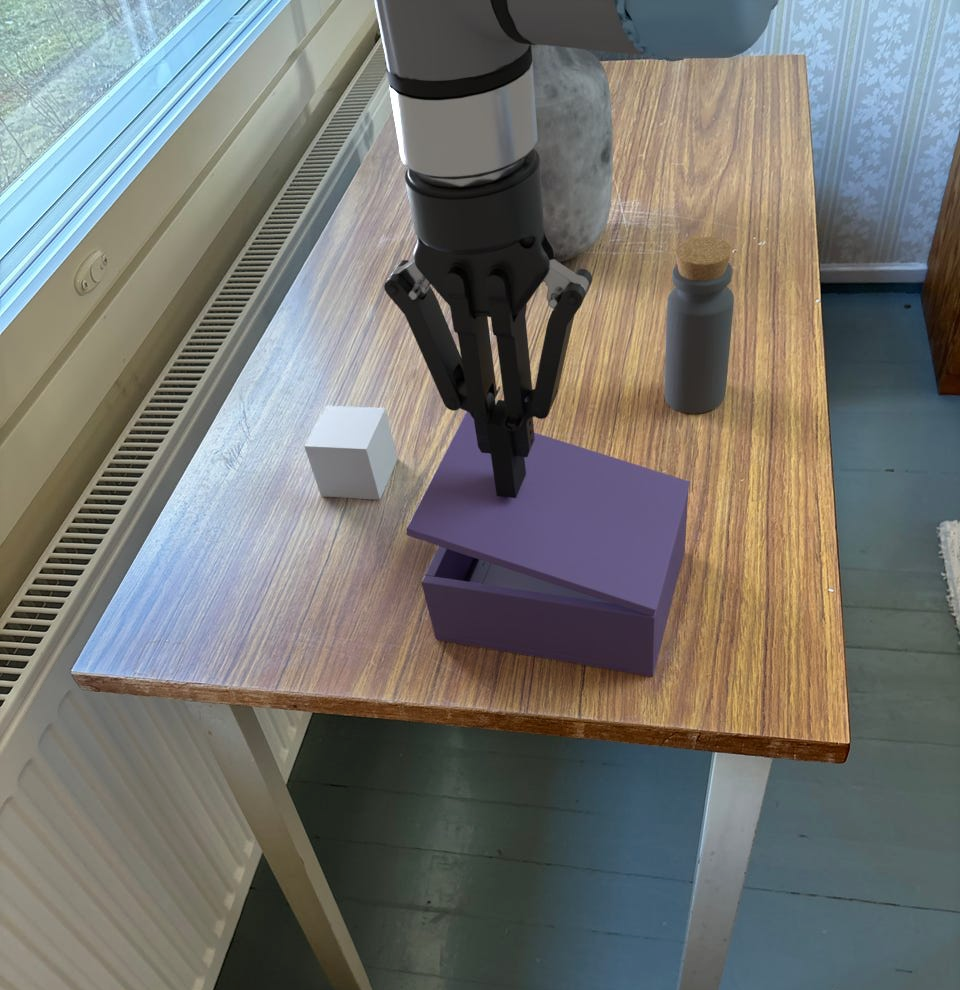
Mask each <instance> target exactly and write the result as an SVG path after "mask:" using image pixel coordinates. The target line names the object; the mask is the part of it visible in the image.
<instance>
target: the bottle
mask: <svg viewBox="0 0 960 990" xmlns="http://www.w3.org/2000/svg"><path fill="white" fill-rule="evenodd" d="M732 250H733V249H732V246H731V245H730V243H729V242H727V241H726V240H724V239H722V238H718V237H715V236H697V237H692V238H689V239H686V240H684V241H682V242H681V243H680V244H679V245H678V246H676V249H675V259H676V264H675V265H674V267H673V269H672V272H671V273H672V275H671V281H672V285H673V286H674V288H673V289H672V290H671V291H670V292H669V293H668V296H667V304H666V326H665V327H666V328H665V356H664V357H665V359H664V361H665V362H664V400H665V402H666V404H667V405H668V406H669V407H670V408H671V409H673V410H675V411H677V412H680V413H684V414H689V415H690V414H691V415H692V414H693V415H694V414H695V415H696V414H704V413H708V412H711V411H713V410H715V409H717V408H718V407H720V406H721V405H722V404H723V402H724V400H725V397H726V392H727V391H726V390H727V384H728V383H727V382H728V373H729V363H730V349H731V339H732V330H733V329H732V327H733V319H734V318H733V317H734V303H735V297H734V293H733V291H732V289H730V287H729V284H730V283H731V281H732V279H733V267H732V265H731V263H730V258H731V255H732V253H733V252H732Z"/></svg>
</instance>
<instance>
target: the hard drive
mask: <svg viewBox="0 0 960 990" xmlns="http://www.w3.org/2000/svg"><path fill="white" fill-rule="evenodd" d="M470 582H473V583H480V584H486V585H493V586H500V587H506V588H513V589H519V590H526V591H533V592H539V593H546V594H553V595H559V596H566V597H573V598H579V599H586V600H593V601H599V602H606V603H610V602H607V601H604V600H601V599H598V598H595V597H592V596H589V595H586V594H583V593H580V592H577V591H574V590H571V589H567V588H564V587H561V586H558V585H555V584H552V583H549V582H546V581H543V580H540V579H537V578H534V577H531V576H528V575H525V574H522V573H519V572H516V571H513V570H510V569H507V568H504V567H501V566H498V565H495V564H492V563H489V562H486V561H483V560H480V559H479V561H478V564H477V566H476V568H475V570H474V573H473V575H472V577H471V580H470Z"/></svg>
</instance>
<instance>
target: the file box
mask: <svg viewBox="0 0 960 990" xmlns="http://www.w3.org/2000/svg"><path fill="white" fill-rule="evenodd" d="M688 505H689V491H688V492H687V496H686V500H685V504H684V507H683V511H682V515H681V519H680V522H679V526H678V530H677V534H676V538H675V541H674V545H673V549H672V553H671V556H670V560H669V564H668V568H667V571H666V575H665V579H664V583H663V586H662V590H661V594H660V598H659V601H658V605H657V609H656V612H655V614H654V616H649V615H646V614H643V613H640V612H637V611H634V610H631V609H628V608H625V607H622V606H619V605H616V604H613V603H606V602H599V601H593V600H586V599H579V598H573V597H566V596H559V595H553V594H546V593H539V592H533V591H526V590H519V589H513V588H506V587H500V586H493V585H486V584H480V583H473V582H470V580H471V577H472V575H473V573H474V570H475V568H476V566H477V564H478V561H479V559H477V558H474V557H471V556H467V555H464V554H461V553H458V552H455V551H452V550H449V549H446V548H443V547H440V546H437V548H436V551H435V553H434V555H433V556H432V558H431V561H430V563H429V565H428V567H427V569H426V571H425V574H424V576H423V578H422V580H421V586H422V590H423V595H424V598H425V602H426V606H427V610H428V614H429V618H430V623H431V626H432V630H433V633H434V638H435V640H437V641H441V642H447V643H453V644H459V645H465V646H471V647H477V648H482V649H488V650H493V651H494V650H495V651H499V652H507V653H511V654H517V655H522V656H523V655H524V656H530V657H535V658H541V659H546V660H552V661H558V662H564V663H569V664H575V665H576V664H577V665H582V666H589V667H593V668H599V669H606V670H611V671H617V672H623V673H627V674H634V675H640V676H647V677H651V678H653V677H654V674H655V671H656V667H657V663H658V659H659V655H660V652H661V651H660V650H661V647H662V644H663V639H664V634H665V630H666V627H667V624H668V619H669V615H670V611H671V607H672V604H673V599H674V596H675V592H676V588H677V584H678V580H679V576H680V572H681V568H682V564H683V560H684V556H685V553H686V541H687V538H686V537H687V524H688V522H687V521H688Z"/></svg>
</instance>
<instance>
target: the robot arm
mask: <svg viewBox="0 0 960 990" xmlns="http://www.w3.org/2000/svg"><path fill="white" fill-rule="evenodd" d="M779 1H780V0H373V4H374V7H375V13H376V18H377V22H378V26H379V27H378V28H379V30H380V32H379V33H380V37H381V42H382V48H383V52H384V57H385V61H384V65H385V70H386V75H387V81H388V88H389V95H390V99H391V105H392V106H391V107H392V111H393V118H394V124H395V130H396V132H395V133H396V137H397V143H398V149H399V157H400V159H401V161H402V164H404V165H405V166H406V167H407V169H406V171H405V175H404V180H405V186H406V191H407V198H408V204H409V208H410V214H411V219H412V225H413V231H414V233H415V234H416V236H417V239H416V244H415V247H414V250H413V256H412V257H413V258H411V259H410V260H407V259H402V260H400V261H399V262H398V263H397V265H396V267H395V268H394V269H393V271H392V272H391V274H390V275H389V276H388V278H387V279H386V281H385V282H384V285H383V288H384V291H385V293H386V294H387V295H388V297H389V298H390V299H391V300H392V302H393V303H394V304H395V305H396V306H397V307H398V309H399V310H400V311H401V312H402V313H403V315H404V317H405V319H406V321H407V324H408V326H409V328H410V331H411V332H412V334H413V337H414V339H415V342H416V344H417V346H418V348H419V351H420V353H421V355H422V357H423V359H424V362H425V364H426V366H427V369H428V370H429V373H430V375H431V377H432V379H433V382H434V384H435V386H436V389H437V391H438V394H439V396H440V398H441V401H442V403H443V404H444V406H445V408H446V409H448V410H450V411H453V412H455V411H459V409H460V410H462V411H465V412H469V413H470V415H471V416H472V417H473V419H474V424H475V431H476V437H477V444H478V448H479V449H480V451H481V453H489V454H491V459H492V466H493V473H494V480H495V487H496V494H497V496H502V497H510V498H516V497H517V494H518V492H519V490H520V487H521V485H522V483H523V480H524V478H525V476H526V468H525V459H524V457H528V454H529V452H530V450H531V447H532V445H533V443H534V440H535V436H534V432H535V427H534V418H536V419H538V420H539V419H540V420H543V419H546V418H547V417H548V416H549V414H550V411H551V409H552V407H553V404H554V403H555V400H556V398H557V395H558V393H559V388H560V383H561V379H562V376H563V370H564V366H565V362H566V358H567V357H566V356H567V351H568V348H569V341H570V337H571V333H572V328H573V324H574V318H575V315H576V313H577V312H578V310H579V309H580V308H581V306H582V304H583V303H584V300H585V298H586V296H587V293H588V291H589V289H590V287H591V285H592V282H593V275H592V273H591V272H590V270H588V269H586V268H578V269H576V270H575V271H572V270H571V269H570V268H568V267H567V266H566V265H563V263H562V262H560V263H559V262H558V261H556V260H555V259H554V249H553V247H552V245H551V243H550V241H549V240H548V238H547V236H546V233H545V230H544V213H543V199H542V186H541V172H540V158H539V154H538V153H537V151H536V150H535V149H534V146H535V144H536V142H537V141H538V139H537V122H536V106H535V90H534V73H533V60H532V49H531V45H548V46H557V47H567V48H577V49H585V50H587V51H597V52H606V53H615V54H617V53H618V54H627V55H635V56H636V55H637V56H645V57H650V58H651V59H653V60H657V61H666V62H679V61H680V62H681V61H684V60H685V59H688V60H689V59H729V58H734V57H736V56H739V55H741V54H743V53H745V52H746V51H748V50H749V49H750V48H752V46H754V45H755V43H757V41H759V39H760V37H761V36H762V35H763V33H764V32H765V30H766V29H767V27H768V25H769V22H770V18H771V13H772V11H773V10H774V9H775V8H776V7H777V6H778V3H779ZM543 282H544V283H545V285H546V286H547V292H546V300H547V302H548V303H547V304H548V307H550V308H551V309H552V311H551V313H550V315H549V318H548V321H547V325H546V329H545V333H544V340H543V345H542V349H541V356H540V359H539V365H538V366H539V367H538V371H537V376H536V381H535V387H534V388H533V381H532V371H531V362H530V351H529V350H530V349H529V340H528V330H527V321H526V320H527V319H526V313H527V309H528V308H527V307H528V303H529V301H531V299H532V297H533V296H534V294H535V293H536V291H537V290H538V288H539V287H540V286H541V284H543ZM432 287H433V288H432ZM433 289H434V290H435V291H436V292H437V293H438V294H439V295H440V297H441V298H442V300H444V302H446V303H447V305H448V306H449V309H450V314H451V321H452V327H453V332H454V333H457V338H458V346H459V348H458V347H457V344H456V342H455V339H454V337H453V334H452V332H451V329H450V326H449V325H448V322H447V320H446V317H445V314H444V312H443V309H442V308H441V305H440V303H439V300H438V298H437V295H436V293H435V291H434V290H433ZM488 318H490V322H491V331H492V334H493V336H495V339H496V346H497V347H496V348H497V354H498V361H499V362H498V363H499V371H500V379H501V385H502V394H503V399H497V396H498V394H499V393H500V390H501V386H498V387H497V381H496V375H495V367H494V357H493V351H492V342H491V341H492V340H491V334H490V327H489V319H488ZM458 349H459V350H458ZM496 399H497V401H496Z"/></svg>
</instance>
